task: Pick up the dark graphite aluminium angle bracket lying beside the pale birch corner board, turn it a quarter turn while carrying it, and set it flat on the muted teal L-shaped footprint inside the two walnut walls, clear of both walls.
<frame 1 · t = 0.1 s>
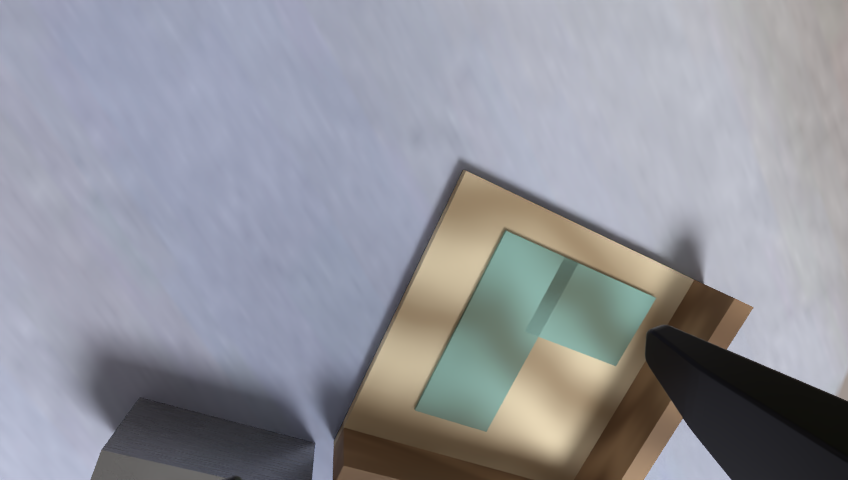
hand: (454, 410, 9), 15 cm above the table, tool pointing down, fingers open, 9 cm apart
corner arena: (524, 360, 28), on the table
angle bracket: (205, 438, 25), on the table
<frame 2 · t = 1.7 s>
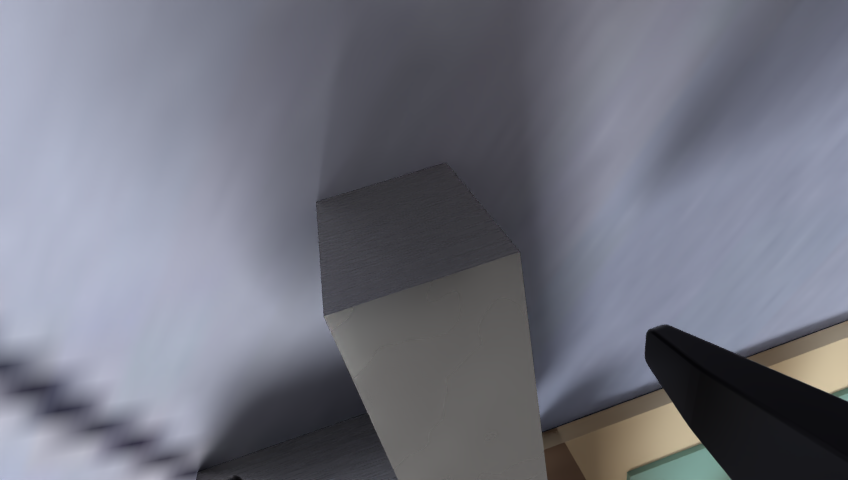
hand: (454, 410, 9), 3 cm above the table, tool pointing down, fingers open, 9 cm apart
angle bracket: (420, 314, 12), on the table
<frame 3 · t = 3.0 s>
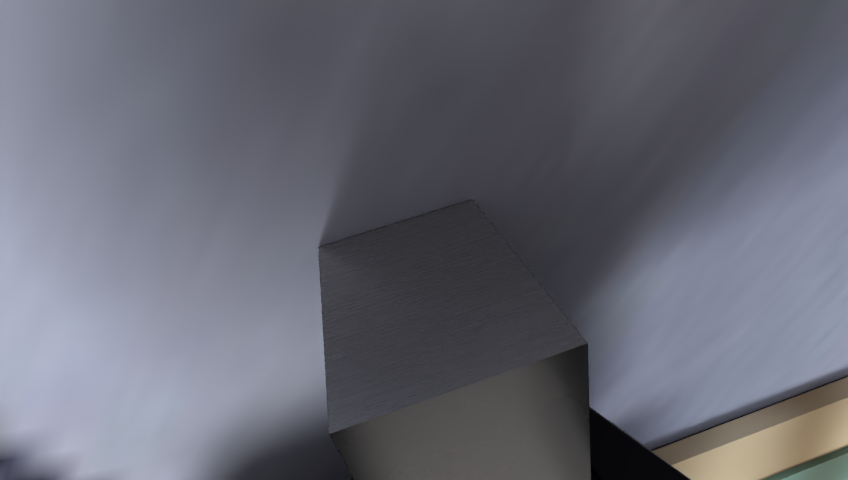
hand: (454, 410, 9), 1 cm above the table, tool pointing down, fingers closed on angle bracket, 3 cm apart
angle bracket: (438, 367, 10), on the table, touching gripper
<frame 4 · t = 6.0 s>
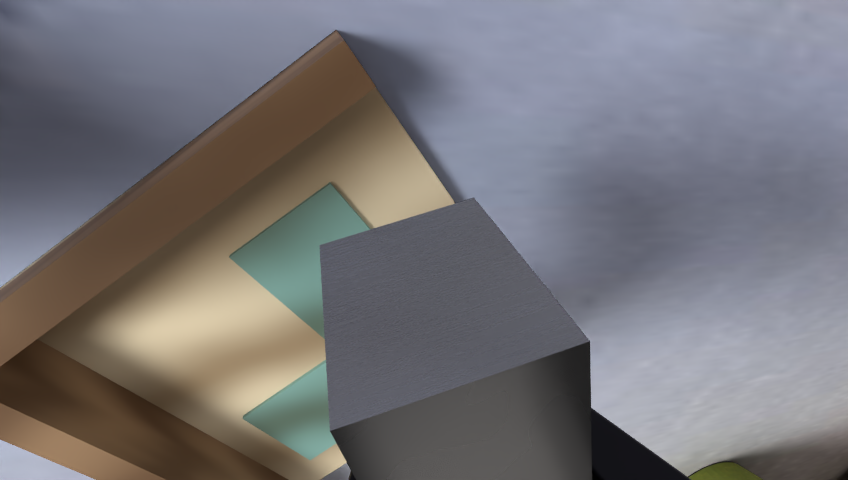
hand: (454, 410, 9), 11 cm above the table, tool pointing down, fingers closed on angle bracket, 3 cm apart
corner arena: (303, 323, 21), on the table
angle bracket: (439, 366, 10), point 10 cm above the table, touching gripper
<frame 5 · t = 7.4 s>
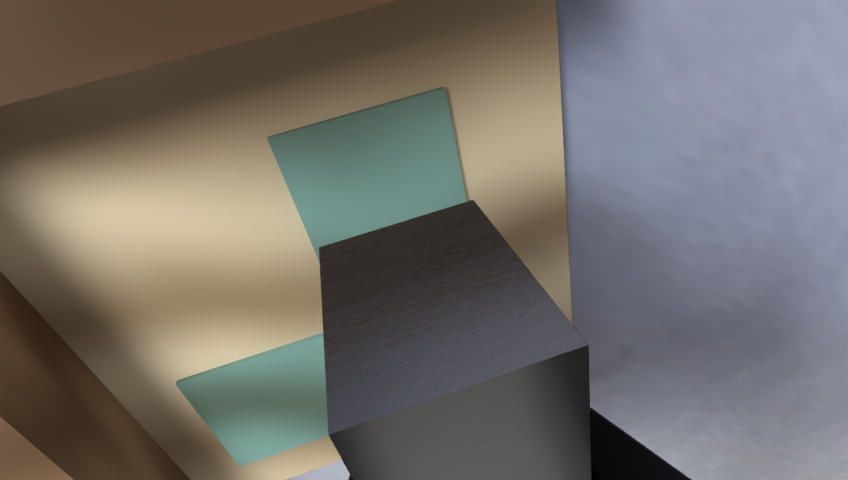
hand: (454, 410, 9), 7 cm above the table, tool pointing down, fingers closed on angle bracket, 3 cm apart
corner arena: (313, 275, 15), on the table
angle bracket: (439, 367, 10), point 6 cm above the table, touching gripper
when the fingers open (3 cm above the table, at t = 8.8 s): angle bracket drops 1 cm, resting on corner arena.
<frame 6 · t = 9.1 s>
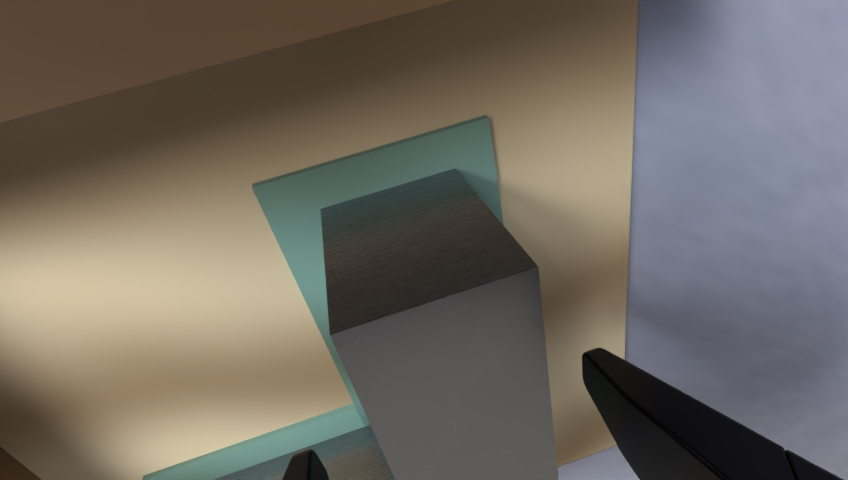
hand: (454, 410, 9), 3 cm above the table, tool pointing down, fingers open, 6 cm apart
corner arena: (313, 344, 12), on the table
angle bracket: (427, 324, 11), point 1 cm above the table, touching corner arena
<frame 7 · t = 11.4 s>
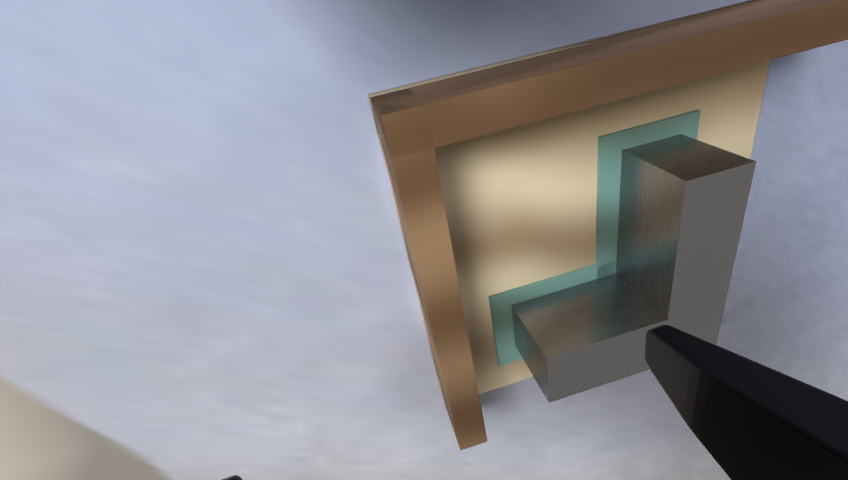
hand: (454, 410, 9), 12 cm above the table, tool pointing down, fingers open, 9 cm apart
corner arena: (580, 228, 23), on the table
angle bracket: (645, 217, 22), point 1 cm above the table, touching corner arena
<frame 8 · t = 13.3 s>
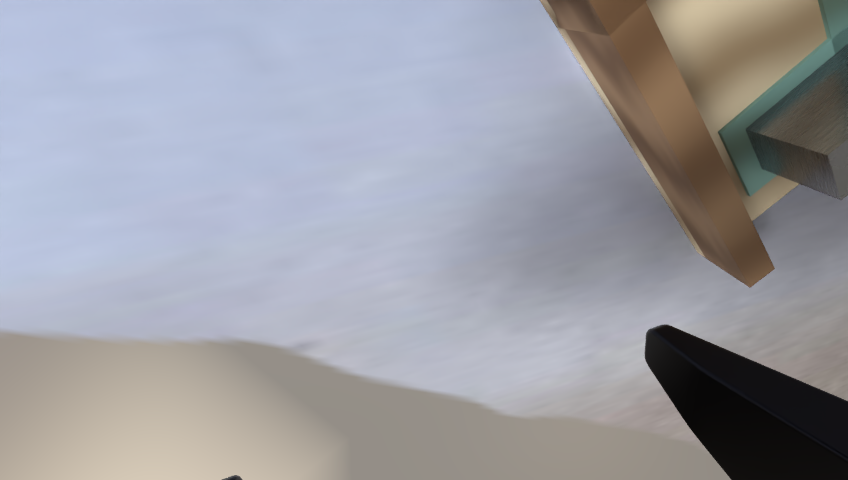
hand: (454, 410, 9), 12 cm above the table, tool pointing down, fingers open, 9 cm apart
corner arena: (795, 10, 20), on the table
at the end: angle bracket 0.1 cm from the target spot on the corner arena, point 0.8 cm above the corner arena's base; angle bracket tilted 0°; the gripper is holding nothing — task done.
